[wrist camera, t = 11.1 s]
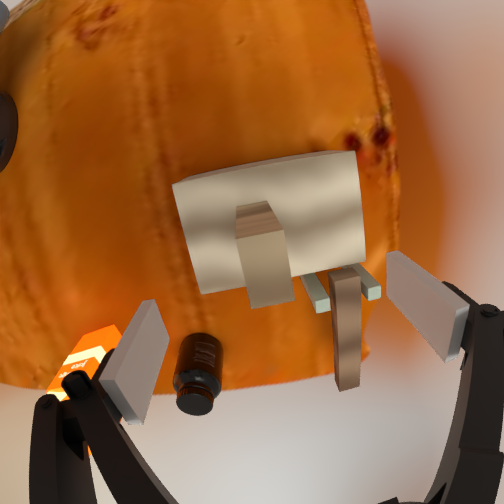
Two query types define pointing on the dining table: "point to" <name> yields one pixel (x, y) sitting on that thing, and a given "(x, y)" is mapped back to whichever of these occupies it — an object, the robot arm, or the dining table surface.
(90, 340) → the orange juice
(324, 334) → the dining table surface
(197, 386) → the supplement bottle
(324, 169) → the lid
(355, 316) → the brown wooden bar
